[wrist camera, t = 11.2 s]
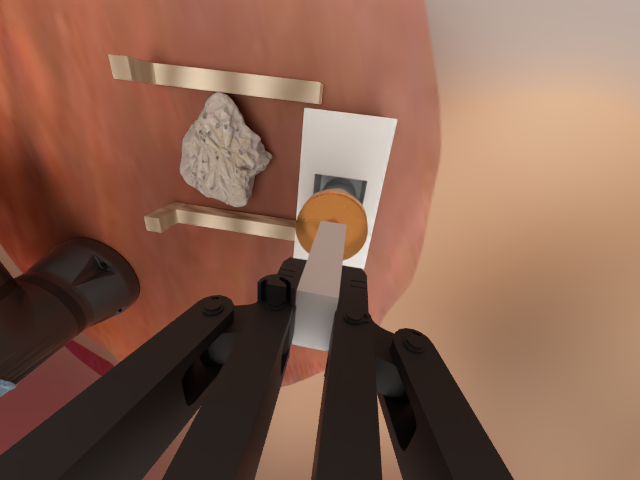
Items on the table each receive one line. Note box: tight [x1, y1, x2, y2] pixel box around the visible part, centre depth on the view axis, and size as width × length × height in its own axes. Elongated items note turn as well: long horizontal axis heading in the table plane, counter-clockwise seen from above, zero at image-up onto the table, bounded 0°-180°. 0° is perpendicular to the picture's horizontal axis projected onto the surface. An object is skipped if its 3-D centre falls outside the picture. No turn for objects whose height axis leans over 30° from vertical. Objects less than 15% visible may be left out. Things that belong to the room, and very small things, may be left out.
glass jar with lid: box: [295, 178, 368, 260], centre depth 21 cm, size 5×5×8 cm
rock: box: [180, 92, 272, 207], centre depth 31 cm, size 11×11×6 cm
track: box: [108, 54, 323, 241], centre depth 31 cm, size 20×19×6 cm
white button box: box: [293, 108, 397, 271], centre depth 28 cm, size 7×14×12 cm, turn 174°
